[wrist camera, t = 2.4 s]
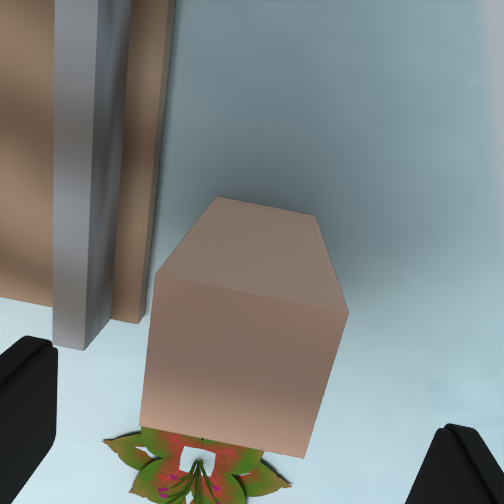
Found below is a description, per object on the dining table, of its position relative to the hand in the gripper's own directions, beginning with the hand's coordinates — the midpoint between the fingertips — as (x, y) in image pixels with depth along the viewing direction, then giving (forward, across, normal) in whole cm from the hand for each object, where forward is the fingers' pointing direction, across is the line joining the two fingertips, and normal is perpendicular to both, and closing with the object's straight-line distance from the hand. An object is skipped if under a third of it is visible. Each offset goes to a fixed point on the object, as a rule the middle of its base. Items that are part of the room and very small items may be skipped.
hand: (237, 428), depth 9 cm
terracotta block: (+12, 0, -1) cm, 12 cm away
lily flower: (+12, +2, +14) cm, 19 cm away
